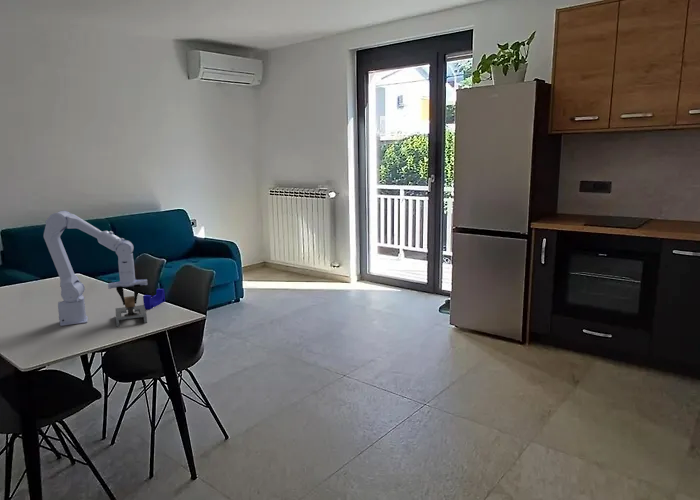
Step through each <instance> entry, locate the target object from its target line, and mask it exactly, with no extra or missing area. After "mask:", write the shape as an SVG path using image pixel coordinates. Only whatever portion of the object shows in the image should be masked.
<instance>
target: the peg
mask: <svg viewBox="0 0 700 500" xmlns="http://www.w3.org/2000/svg"><path fill="white" fill-rule="evenodd" d="M124 299H125V305H124V306H125V308H128V310H127V313H124V315H123V316H129V315H137V314H138V313H137V312H134V309H133V307H135V306H136V304H135V301H134V295H132V296H130V295H129V296H124ZM129 320H133V318H130V319H129Z"/></svg>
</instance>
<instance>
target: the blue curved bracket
mask: <svg viewBox="0 0 700 500" xmlns="http://www.w3.org/2000/svg"><path fill="white" fill-rule="evenodd" d="M165 292H166V291H165V288H157V289H156V294H155V295H150V294H144V295H142V299H143V301H142V302H143V305H144V306H145V310H152V309H153V307H154V308H155V307H158V306H159V305H161V304H163V303H165V302H166V293H165Z"/></svg>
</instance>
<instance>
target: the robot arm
mask: <svg viewBox="0 0 700 500" xmlns="http://www.w3.org/2000/svg"><path fill="white" fill-rule="evenodd" d="M65 229H69V230H70V229H77V230H80V231H81V232H83V233H86V234H87V235H89V236H92V237H93V238H95V239H97V242H98V243H99V244H100V245H102V246H104V247H106V248H107V249H109V250H111V251H113V252H115V254H116V255H117V258H118V260H117V264H118V274H119V276H118V277H119V281H116V282H115V281H114V282H108V283H107V287H108V289H109V290H112V289H116V291H117V293H118V295H119V296H120V299H121V302H122V306H125V299H124V297H125V294H124V288H128V287H133V296H134V301H135V305H136V304H137V299H138V295H139V293H140V290H141V286H148V279H147V278H145V279H136V272H135V271H136V269H135V260H134V253H133V252H134V248H135V247H134V244H133V243H132V241H130V240H127V239H125V238H123V237H119V236H118V235H115V233H114V231H112V230H110V231H108V230H103V231H102V230H100V229H99V228H98V227H96V226H94V225H92V224H91V223H89V222H87V221H86V220H85V219H82V218H81V217H79V216H78V215H77V214H74V213H71V212H69V211H68V210H60V211H58V212H53V213H52V214H50V215H49V217H48V218H47V219H46V220H45V226H44V230H43V239H44V242H45V244H46V247H47V249H48V252H49V254H50V256H51V257H50V258H51V259H52V261H53V264H54V267H55V269H56V271H57V274H58V277H59V278H60V281H59V282H60V283H59V285H60V286H59V287H60V289H61V290H60V296H61V299H62V300H61V301H58V302H57V311H58V321H59V326H60V327H62V326H71V325H77V324H84V323H85V324H87V323H88V320H89V316H88V315H87V312H86V303H85V297H84V295H83V294H84V292H85V290H86V289H85V284H84V283H82V281H80V279H79V276H77V275H76V274H75V272H74V270H73V269H74V268H73V267H72V265H71V261H70V259H69V256H68V254H67V252H66V251H67V250H66V249H65V247H64V244H63V241H62V239H61V238H62V237H61V236H62V234H63V232H64V231H65Z"/></svg>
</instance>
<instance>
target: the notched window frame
mask: <svg viewBox="0 0 700 500" xmlns="http://www.w3.org/2000/svg"><path fill="white" fill-rule="evenodd" d="M146 310H147V309H145V306H144V304H141V305H140V304H139V305H135V307H133V311H134V313H137V312H139V314H138V313H137V315H129V316H124V315H123V316H122V314H128V308H125V307H116V308H115V322H116V327H117V328H119V327H120V320H121V321H122V320H131V319H130V318H132V319H136V318H143V324H147V323H148V318H147V316H148V315H147V311H146Z"/></svg>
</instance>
